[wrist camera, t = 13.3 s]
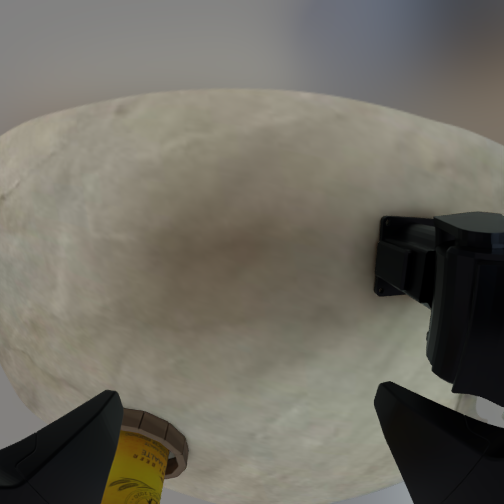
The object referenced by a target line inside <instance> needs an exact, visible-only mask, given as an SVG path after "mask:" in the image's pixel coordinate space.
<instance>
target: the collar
mask: <svg viewBox="0 0 504 504" xmlns="http://www.w3.org/2000/svg"><path fill="white" fill-rule="evenodd" d="M123 410H124V414H123V420H122V425H121V430H123V431H129V432H135V433H140V434H142V435H144V436H146V437H148V438H151V439H153V440H155V441H158V442H160V443H161V444H162V445H164V446H165V447H166V448H167V449H168V450H170V451H171V452H172V453H173V454H175V456H176V457H175V458H173V459H169V460H168V461H167V466H166V471H165V477H164V479H169V478H175V477H178V476H179V475H180V474H181V473H182V472H183V471H184V470H185V469H186V466H187V459H188V447H187V443H186V438H185V437H184V436H183V435H182V434H181V433H180V432H179V431H178V430H177V429H176V428H174V427H173V426H172V425H171V424H170V423H168V422H167V421H165V420H162V419H160V418H158V417H156V416H154V415H151V414H149V413H147V412H145V413H144V411H139V410H132V409H125V408H123Z"/></svg>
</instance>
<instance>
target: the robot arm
mask: <svg viewBox="0 0 504 504" xmlns="http://www.w3.org/2000/svg"><path fill="white" fill-rule="evenodd" d="M387 220H388V221H389V223H388V225H386V221H387ZM375 274H376V279H375V287H374V292H375V294H376V295H378V296H380V297H381V296H393V295H404V294H407V295H409V296H410V297H412V298H413V299H415V300H416V301H418V302H419V303H421V304H423V305H424V306H426V307H427V308H429V309H431V317H430V325H429V331H428V332H427V337H426V340H427V346H426V356H427V358H428V360H429V362H430V363H431V365H432V372H434V373H435V374H436V375H437V376H438V377H440V378H441V379H443V380H445V381H447V382H448V383H451V384H453V387H452V390H451V391H452V392H453V393H461V394H471V395H475V396H480V397H482V398H485V399H487V400H489V401H491V402H493V403H496V404H497V405H499V406H501V407H504V216H503V215H502V214H498V213H488V212H467V213H459V214H451V215H443V216H435V217H434V219H429V218H415V217H399V216H384V217H382V219H381V225H380V240H379V243H378V247H377V258H376V267H375ZM380 288H382V290H381V291H380V292H379V289H380ZM374 406H375V409H376V412H377V415H378V418H379V422H380V425H381V428H382V431H383V434H384V437H385V439H386V442H387V444H388V446H389V448H390V450H391V453H392V455H393V457H394V459H395V461H396V464H397V466H398V468H399V470H400V473H401V475H402V477H403V480H404V482H405V484H406V486H407V489H408V491H409V493H410V496H411V498H412V500H413V503H414V504H504V428H501V427H497V426H494V425H490V424H487V423H484V422H481V421H479V420H476V419H473V418H471V417H469V416H466V415H463V414H461V413H459V412H457V411H454V410H452V409H450V408H447V407H445V406H443V405H441V404H438V403H436V402H434V401H432V400H430V399H427V398H425V397H423V396H421V395H419V394H416V393H414V392H412V391H410V390H408V389H406V388H404V387H402V386H400V385H397V384H395V383H393V382H391V381H388V382H383V383H380V384H379V386H378V389H377V393H376V396H375V399H374ZM123 414H124V410H123V406H122V403H121V400H120V397H119V394H118V392H116V391H112V390H105V391H103V392H102V393H100V394H98V395H97V396H95V397H94V398H92V399H90V400H89V401H87V402H85V403H84V404H82V405H81V406H79V407H77V408H76V409H74V410H72V411H71V412H69V413H67V414H66V415H64V416H63V417H61V418H59V419H58V420H56V421H54V422H52V423H51V424H49V425H47V426H46V427H44V428H42V429H41V430H39V431H37V433H34V434H32V435H30V436H28V437H27V438H25V439H23V440H21V441H19V442H17V443H15V444H12V445H10V446H8V447H6V448H3V449H1V450H0V504H101V502H102V498H103V494H104V491H105V487H106V484H107V480H108V477H109V473H110V470H111V466H112V463H113V460H114V457H115V453H116V450H117V446H118V440H119V435H120V430H121V425H122V420H123Z"/></svg>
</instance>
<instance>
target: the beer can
mask: <svg viewBox="0 0 504 504" xmlns="http://www.w3.org/2000/svg"><path fill="white" fill-rule="evenodd" d="M168 456H169V450H168V449H167V448H166V447H165V446H164V445H162V444H161V443H160V442H158V441H155V440H153V439H151V438H148V437H146V436H144V435H142V434H140V433H135V432H129V431H123V430H120V435H119V440H118V446H117V450H116V453H115V457H114V460H113V463H112V466H111V470H110V473H109V477H108V480H107V484H106V487H105V491H104V494H103V498H102V502H101V504H160V499H161V492H162V487H163V482H164V477H165V471H166V466H167V461H168Z"/></svg>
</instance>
